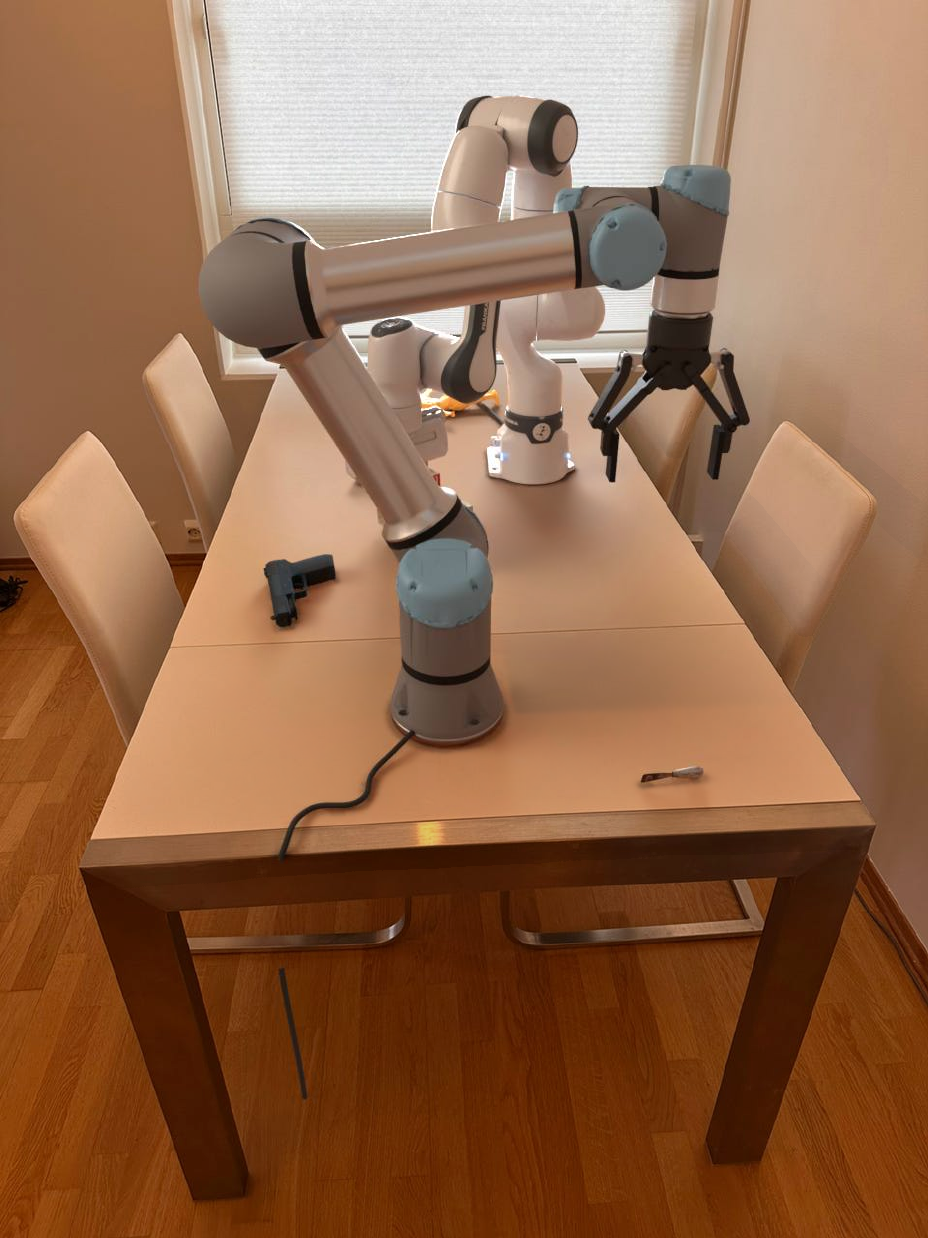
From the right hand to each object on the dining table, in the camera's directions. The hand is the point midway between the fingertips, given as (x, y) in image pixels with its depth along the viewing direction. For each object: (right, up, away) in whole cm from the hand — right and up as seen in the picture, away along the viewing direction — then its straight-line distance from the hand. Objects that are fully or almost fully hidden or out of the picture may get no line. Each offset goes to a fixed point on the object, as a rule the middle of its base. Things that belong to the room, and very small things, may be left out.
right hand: (400, 490), depth 162 cm
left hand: (+38, -5, -45) cm, 59 cm away
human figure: (+8, +29, +64) cm, 70 cm away
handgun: (-15, -20, -15) cm, 29 cm away
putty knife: (+37, -43, -53) cm, 78 cm away
